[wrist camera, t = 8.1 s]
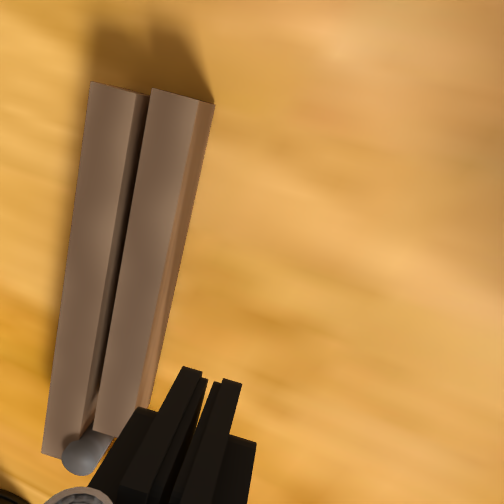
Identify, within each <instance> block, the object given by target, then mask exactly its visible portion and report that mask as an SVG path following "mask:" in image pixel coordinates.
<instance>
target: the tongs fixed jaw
mask: <svg viewBox="0 0 504 504" xmlns="http://www.w3.org/2000/svg"><path fill="white" fill-rule="evenodd" d="M149 102H150V96H149V95H146V94H142V93H139V92H135V91H131V90H128V89H124V88H120V87H116V86H111V85H106V84H102V83H97V82H93V81H91V83H90V90H89V98H88V105H87V113H86V120H85V128H84V135H83V143H82V150H81V158H80V165H79V173H78V180H77V188H76V195H75V203H74V210H73V218H72V225H71V233H70V240H69V248H68V255H67V263H66V270H65V278H64V285H63V293H62V300H61V308H60V315H59V323H58V330H57V338H56V345H55V353H54V360H53V368H52V375H51V383H50V390H49V398H48V405H47V413H46V421H45V428H44V436H43V443H42V451H41V453H42V454H46V455H49V456H52V457H55V458H58V459H61V460H62V463H63V465H64V467H65V468H66V469H67V470H68V471H69V472H71V473H73V474H75V475H79V476H85V475H89V474H90V473H92V472H93V470H94V469H95V467H96V466H97V464H98V462H99V461H100V459H101V458H102V456H103V454H104V453H105V451H106V450H107V448H108V446H109V445H110V443H111V442H112V440H113V438H114V437H113V436H110V435H107V434H103V433H100V432H97V431H94V430H93V424H94V418H95V412H96V407H97V401H98V395H99V389H100V384H101V378H102V372H103V366H104V361H105V355H106V349H107V343H108V338H109V332H110V326H111V320H112V315H113V309H114V303H115V297H116V292H117V286H118V280H119V274H120V269H121V263H122V257H123V251H124V246H125V240H126V234H127V228H128V223H129V217H130V211H131V205H132V200H133V194H134V188H135V182H136V177H137V171H138V165H139V159H140V154H141V148H142V142H143V136H144V131H145V125H146V119H147V113H148V108H149Z"/></svg>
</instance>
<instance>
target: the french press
mask: <svg viewBox="0 0 504 504" xmlns="http://www.w3.org/2000/svg"><path fill="white" fill-rule="evenodd" d="M0 504H28V503H27V502H26V501H24V500H23V499H21V498H20V497H18V496H16V495H14V494H12V493H10V492H8V491H5V490H2V489H0Z"/></svg>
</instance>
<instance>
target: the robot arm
mask: <svg viewBox="0 0 504 504" xmlns="http://www.w3.org/2000/svg"><path fill="white" fill-rule="evenodd" d="M207 383H208V379H205V378H202V371H198V370H195V369H192V368H188V367H185V366H183V367H182V368H181V370H180V372H179V374H178V376H177V378H176V380H175V381H174V383H173V385H172V387H171V389H170V391H169V393H168V395H167V396H166V398H165V400H164V402H163V404H162V406H161V408H160V409H159V411H158V412H155V411H152V410H149V409H146V408H142V407H137V408H136V409H135V411H134V412H133V414H132V415H131V417H130V419H129V420H128V422H127V424H126V425H125V427H124V428H123V430H122V432H121V433H120V435H119V436H118V438H117V440H116V441H115V443H114V444H113V446H112V448H111V449H110V451H109V452H108V454H107V456H106V457H105V459H104V461H103V462H102V464H101V465H100V467H99V469H98V470H97V472H96V473H95V475H94V477H93V478H92V480H91V481H90V483H89V485H88V486H87V487H75V488H70V489H66V490H64V491H62V492H59V493H57V494H55V495H54V496H52V497H51V498H50V499H49V500H48V501H46V502H45V503H44V504H247V500H248V494H249V488H250V482H251V476H252V470H253V464H254V458H255V452H256V445H257V444H256V442H253V441H250V440H246V439H243V438H240V437H237V436H233V435H230V434H229V432H230V429H231V425H232V421H233V417H234V414H235V410H236V406H237V402H238V398H239V395H240V391H241V387H242V384H241V383H238V382H235V381H231V380H228V379H225V378H223V380H222V383H219V382H215V381H214V383H213V385H212V388H211V390H210V393H209V396H208V398H207V401H206V404H205V406H204V409H203V412H202V414H201V417H200V419H199V422H198V418H199V414H200V410H201V406H202V402H203V399H204V395H205V391H206V387H207ZM197 422H198V425H197ZM196 426H197V427H196Z"/></svg>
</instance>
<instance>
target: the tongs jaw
mask: <svg viewBox="0 0 504 504" xmlns="http://www.w3.org/2000/svg"><path fill="white" fill-rule="evenodd" d="M214 109H215V105H214V104H211V103H207V102H203V101H200V100H196V99H193V98H189V97H185V96H182V95H178V94H174V93H171V92H167V91H163V90H159V89H155V88H152V90H151V96H150V102H149V108H148V113H147V119H146V125H145V131H144V136H143V142H142V148H141V154H140V159H139V165H138V171H137V177H136V182H135V188H134V194H133V200H132V205H131V211H130V217H129V223H128V228H127V234H126V240H125V246H124V251H123V257H122V263H121V269H120V274H119V280H118V286H117V292H116V297H115V303H114V309H113V315H112V320H111V326H110V332H109V338H108V343H107V349H106V355H105V361H104V366H103V372H102V378H101V384H100V389H99V395H98V401H97V407H96V412H95V418H94V424H93V430H94V431H97V432H100V433H103V434H107V435H110V436H113V437H116V438H118V436H119V435H120V433H121V432H122V430H123V428H124V427H125V425H126V424H127V422H128V420H129V419H130V417H131V415H132V414H133V412H134V411H135V409H136V408H137V407H142V408H146V409H147V407H148V405H149V404H150V399H151V395H152V390H153V386H154V381H155V376H156V372H157V367H158V363H159V358H160V354H161V349H162V345H163V340H164V336H165V331H166V327H167V322H168V318H169V313H170V308H171V304H172V299H173V295H174V290H175V286H176V281H177V277H178V272H179V268H180V263H181V259H182V254H183V249H184V245H185V240H186V236H187V231H188V227H189V222H190V218H191V213H192V209H193V204H194V200H195V195H196V191H197V186H198V181H199V177H200V172H201V168H202V163H203V159H204V154H205V150H206V145H207V141H208V136H209V132H210V127H211V122H212V118H213V113H214Z"/></svg>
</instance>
